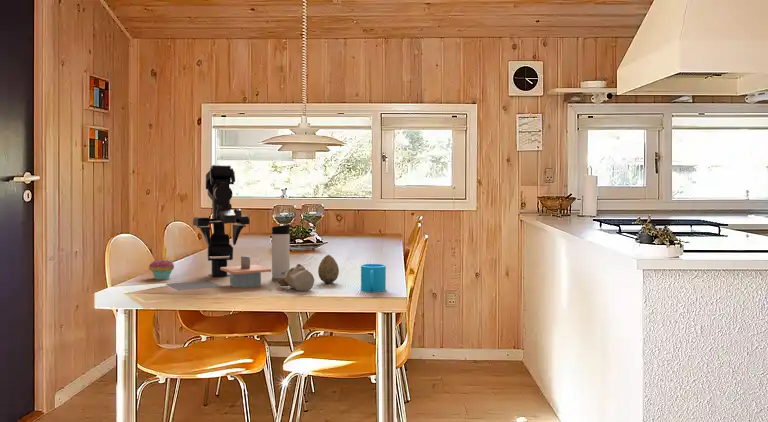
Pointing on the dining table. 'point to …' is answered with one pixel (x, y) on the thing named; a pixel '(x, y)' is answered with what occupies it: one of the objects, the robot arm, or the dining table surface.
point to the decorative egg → (328, 269)
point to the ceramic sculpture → (298, 279)
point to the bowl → (245, 280)
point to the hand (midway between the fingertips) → (221, 245)
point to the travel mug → (280, 252)
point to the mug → (373, 277)
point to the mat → (193, 285)
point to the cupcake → (161, 268)
